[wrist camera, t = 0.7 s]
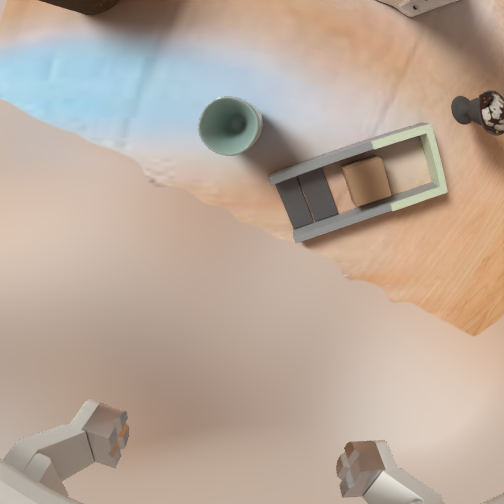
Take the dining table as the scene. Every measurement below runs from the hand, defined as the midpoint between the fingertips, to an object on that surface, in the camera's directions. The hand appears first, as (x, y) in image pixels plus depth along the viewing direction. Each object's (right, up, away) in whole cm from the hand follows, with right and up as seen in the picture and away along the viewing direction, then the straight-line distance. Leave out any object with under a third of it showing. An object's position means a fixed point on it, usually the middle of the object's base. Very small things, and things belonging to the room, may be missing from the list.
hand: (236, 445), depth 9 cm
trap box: (+18, +18, +37) cm, 45 cm away
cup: (-1, +27, +36) cm, 45 cm away
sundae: (+36, +31, +29) cm, 55 cm away
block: (+18, +19, +37) cm, 45 cm away
